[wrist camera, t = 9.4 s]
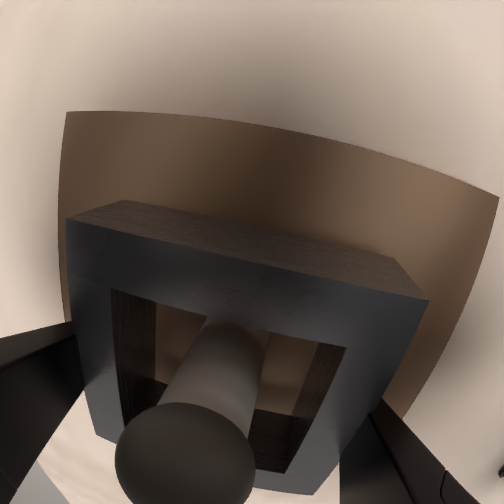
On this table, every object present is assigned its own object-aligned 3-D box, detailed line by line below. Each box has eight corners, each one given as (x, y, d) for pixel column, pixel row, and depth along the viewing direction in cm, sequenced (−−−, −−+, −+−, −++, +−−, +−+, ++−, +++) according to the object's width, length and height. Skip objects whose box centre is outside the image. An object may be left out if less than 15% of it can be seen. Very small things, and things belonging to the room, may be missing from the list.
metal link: (394, 257, 7) (429, 300, 5) (314, 441, 9) (312, 495, 7) (124, 199, 8) (65, 217, 5) (126, 391, 10) (96, 434, 8)
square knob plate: (476, 191, 8) (664, 267, 1) (365, 440, 12) (376, 582, 5) (92, 114, 9) (-102, 113, 2) (92, 370, 13) (4, 475, 6)
